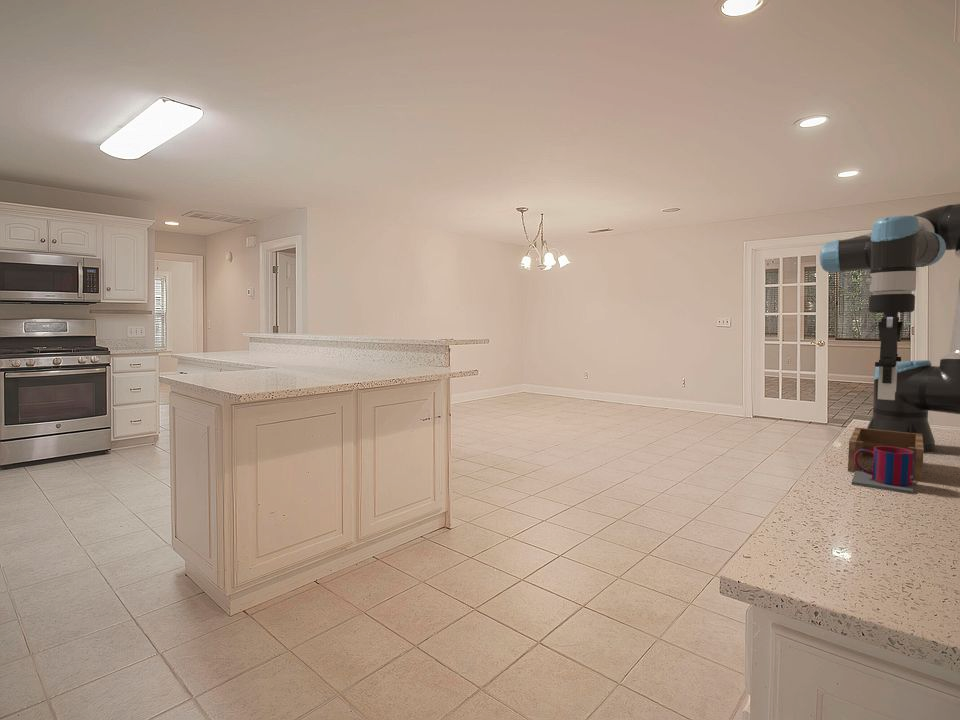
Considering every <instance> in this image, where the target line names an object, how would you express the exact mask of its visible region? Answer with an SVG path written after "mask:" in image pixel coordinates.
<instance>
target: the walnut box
mask: <svg viewBox="0 0 960 720" xmlns="http://www.w3.org/2000/svg"><path fill="white" fill-rule="evenodd" d="M876 446H892V447H899V448H905V449H909V450H912V451H914V469H913V482H914V481H915V482H923V473H924V472H923V470H924V469H923V468H924V453H925V452H924V447H923V437H922V434H917V433H907V432H897V431H887V430H877V429H867V427H866V428H865V427H864V428H863V427H855V428H854V430H853V432H852V433H851V437H850V438H849V440H848V456H847V457H848V458H847V459H848V460H847V461H848V462H847V471H848V472H851V473H855V471H861V470H860V469H858V468H857V466H856V465H855V463H854V455H855V453H856V452H857V451H858V450H860V449H867V450H870V451H873V450H874V447H876ZM863 456H864V458H865V457H866V458H871V457H872V459H873V455H871V454H870V453H868V452H865V451H862V452H860V453H859V454H858V455H857V463H858V465H859V466H860V467H861V468H862V469H863ZM861 472H863V471H861Z"/></svg>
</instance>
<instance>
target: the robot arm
mask: <svg viewBox="0 0 960 720" xmlns="http://www.w3.org/2000/svg"><path fill="white" fill-rule="evenodd" d="M871 229H872V230H871V232H868V233H865V234H864V233H863V234H862V235H858V236H854V237H851V238H846V239H837V240H833V241H827V242H826V243H824V245H823V246H822V247H821V249H820V252H819V263H820V264H819V265H820V266H821V268H822V270H823V271H824V272H826V273H844V272H854V271H855V272H858V271H866V270H868V271H869V270H870V271H869V273H870V278H869V277H867V278H866V280H865V282H866V283H867V284H869V292H870V293H872V295H870V296H869V297H868V312H869V313H872V314H875V313H876V314H877V313H881V314H882V313H883V317H881V319H880V321H878V323H877V330H878V340H879V341H880V350H879V359H878V361H875V362H874V367H875V369H874V370H875V371H874V377H873V405H872V407H873V408H872V416H871V418H870V420H869V423H868V426H867V427H866V429H877V430H887V431H897V432H907V433H917V434H922V437H923V447H924V453H925V452H932V451H935V449H936V440H935V438H934V435H933V431H932V429H931V426H930V423H929V420H928V417H929V416H928V415H929V411H930V412H937V413H947V414H956V415H960V278H959V281H958V288H957V295H956V302H955V310H954V318H953V324H952V330H951V341H950V345H949V351H948V353H947V354H946V355H944V356H942V357H941V358H940V359H939V360H940V362H939V366H937V365H932V362H931V360H927V359H925V360H924V359H923V360H922V359H921V360H919V359H918V360H907V361H906V360H905V361H902V356H898V355H899V354H898V342H899V341H900V340H901V335H902V334H901V333H902V330H903V321H900V318H899V316H898V315H899V313H913V312H914V311H915V308H916V307H915V304H916V295H915V294H914V293H913V292H915V291H916V290H917V289H916V288H917V268H924V267H929V266H932V265H934V264H936V263H937V262H939V261H940V260H941V259H942V258H943V256H944V255H945V253H946V251H951V250H955V252H954V254H955V255H954V256H957V257H958V258H959V259H960V203H955V204H948V205H947V204H946V205H941V206H938V207H934V208H931V209H928V210H925V211H921V212H920V213H916V214H913V215H897V216H894V215H893V216H890V217H889V216H888V217H887V216H886V217H883V218H882V217H881V218H879V219H876V220H875V221H874V222H873V224H872V228H871Z"/></svg>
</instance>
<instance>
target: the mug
mask: <svg viewBox="0 0 960 720" xmlns="http://www.w3.org/2000/svg"><path fill="white" fill-rule="evenodd" d="M862 451H865V452H868V453H870V454H871V455H873V458H872V468H871V470H872V471H870V470H867V469H864V468H863V467H862V468H861V467H860V466H859V465H858V463H857V455H858V454H859V453H860V452H862ZM854 463H855V465H856V466H857V468H858V469H860V470H861V471H862V472H865V473H867V474H870V475H872V479H873V480H874V481H876V482H879V483H883V484H887V485H893V486H911V485H912V484H913V485H914V481H913V469H914V451H912V450H909V449H905V448H899V447H892V446H876V447H874V450H873V451H870V450H867V449H860V450H858V451H857V452H856V453H855V455H854Z"/></svg>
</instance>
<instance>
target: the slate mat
mask: <svg viewBox="0 0 960 720" xmlns="http://www.w3.org/2000/svg"><path fill="white" fill-rule="evenodd" d="M851 485H852V486H859V487H864V488H865V487H867V488H872V489H879V490H886V491H890V492H891V491H892V492H897V493H904V494H912V495H913V494H914V483H913V484H912V485H911V486H893V485H887V484H883V483H879V482H876V481H874V480H873V479H872V475H870V474H867V473H865V472H863V471H862V472H861V471H855V472H853V476H852V480H851Z"/></svg>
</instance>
